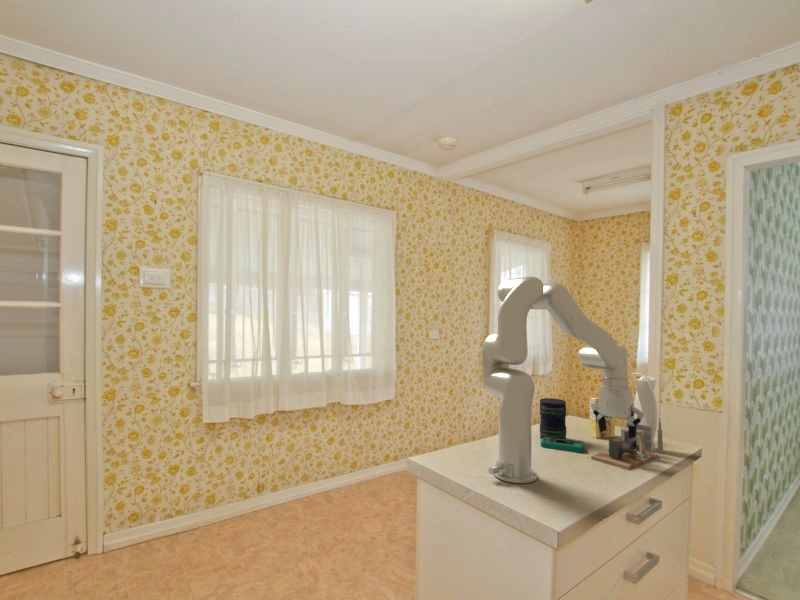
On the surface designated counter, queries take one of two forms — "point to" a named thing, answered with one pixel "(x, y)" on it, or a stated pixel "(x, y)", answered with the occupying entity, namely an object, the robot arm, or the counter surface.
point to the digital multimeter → (563, 444)
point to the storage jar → (552, 418)
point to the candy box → (595, 424)
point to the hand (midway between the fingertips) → (617, 434)
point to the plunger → (621, 447)
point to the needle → (640, 450)
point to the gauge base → (630, 459)
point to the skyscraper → (648, 408)
